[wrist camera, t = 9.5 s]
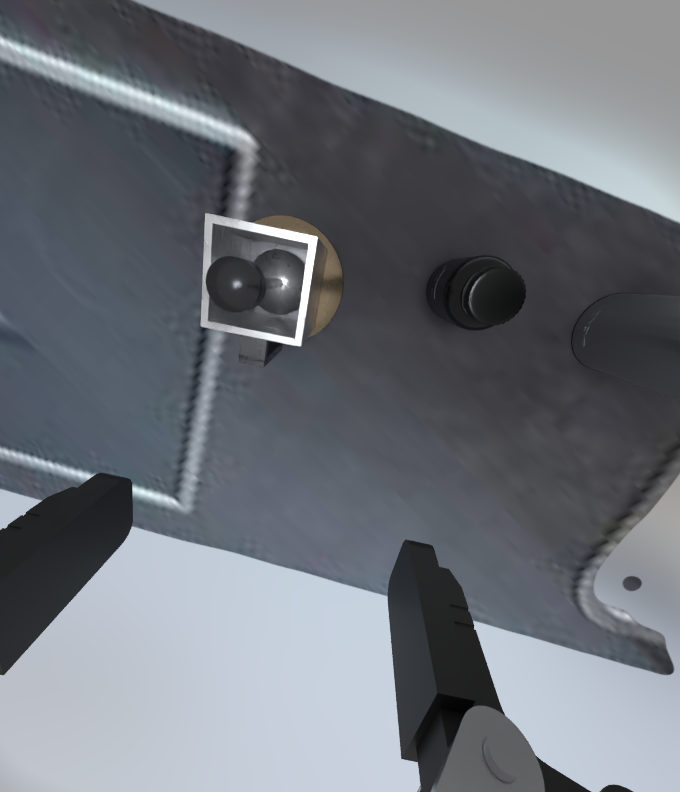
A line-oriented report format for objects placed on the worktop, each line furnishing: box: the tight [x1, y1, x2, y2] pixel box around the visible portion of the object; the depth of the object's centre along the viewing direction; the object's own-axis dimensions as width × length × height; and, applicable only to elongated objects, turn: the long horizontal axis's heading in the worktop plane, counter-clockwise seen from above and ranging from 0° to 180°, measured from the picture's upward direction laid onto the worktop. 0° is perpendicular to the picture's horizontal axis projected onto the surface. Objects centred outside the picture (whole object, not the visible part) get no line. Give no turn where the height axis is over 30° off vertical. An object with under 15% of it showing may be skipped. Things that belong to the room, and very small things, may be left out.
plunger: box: [206, 249, 306, 315], centre depth 28 cm, size 7×7×15 cm
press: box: [201, 213, 343, 367], centre depth 32 cm, size 14×14×12 cm
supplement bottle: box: [427, 255, 526, 330], centre depth 32 cm, size 7×7×12 cm
